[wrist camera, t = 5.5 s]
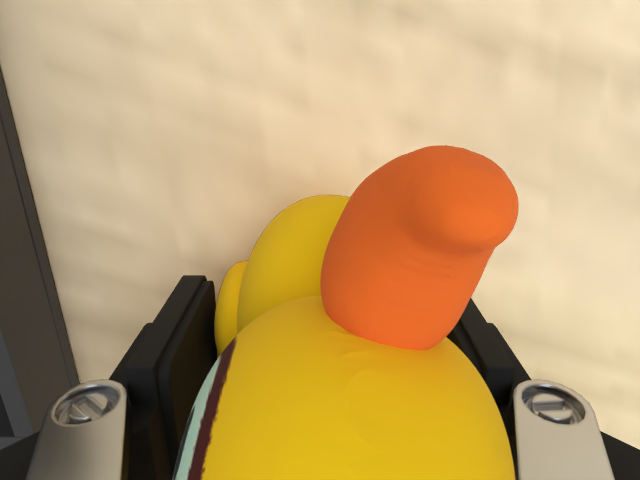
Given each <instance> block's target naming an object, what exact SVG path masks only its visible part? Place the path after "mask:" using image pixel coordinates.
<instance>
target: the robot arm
mask: <svg viewBox="0 0 640 480" xmlns="http://www.w3.org/2000/svg"><path fill="white" fill-rule="evenodd" d="M215 310H216V300H215V290H214V283H213V281H207V279H206V277H205V276H183V277H182V278H181V280H180V281H179V283H178V284H177V286H176V287H175V289H174V290H173V292H172V294H171V295H170V297H169V298H168V300H167V301H166V303H165V304H164V306H163V308H162V309H161V311H160V312H159V314H158V315H157V317H156V318H155V320H154V322H153V323H147V324H146V325H145V326H144V327H143V329H142V330H141V332H140V333H139V335H138V336H137V338H136V339H135V341H134V342H133V344H132V345H131V347H130V348H129V350H128V351H127V353H126V354H125V356H124V357H123V359H122V360H121V362H120V363H119V365H118V366H117V368H116V369H115V371H114V372H113V374H112V375H111V377H110V378H109V380H94V381H89V382H85V383H82V384H79V385H76V386H74V387H72V388H70V389H68V390H66V391H65V392H63V393H62V394H60V395H59V396H57V397H56V398H55V399H54V400H53V401H52V402H51V403H50V405H49V407H48V409H47V411H46V413H45V416H44V419H43V423H42V426H41V429H40V431H39V432H36V433H34V434H32V435H30V436H28V437H26V438H24V439H22V440H20V441H18V442H16V443H13V444H11V445H9V446H7V447H5V448H3V449H1V450H0V480H173V475H174V470H175V465H176V461H177V457H178V453H179V449H180V445H181V441H182V438H183V435H184V431H185V428H186V425H187V422H188V419H189V416H190V413H191V410H192V408H193V405H194V403H195V400H196V398H197V396H198V393H199V391H200V389H201V387H202V385H203V383H204V381H205V379H206V377H207V375H208V374H209V372H210V370H211V368H212V367H213V365H214V364H215V362H216V361H217V347H216V343H215V335H214V320H215ZM446 337H447V338H448V339H449V340H450V341H452V342H453V343H454V344H455V345H456V346H457V347H458V348H459V349H460V350H461V351H462V352H463V353H464V354H465V355H466V356H467V358H468V359H469V360H470V361H471V362H472V364H473V365H474V366H475V368H476V369H477V371H478V372H479V374H480V375H481V377H482V378H483V380H484V381H485V383H486V385H487V387H488V388H489V390H490V392H491V394H492V396H493V398H494V400H495V403H496V405H497V407H498V410H499V412H500V415H501V417H502V420H503V423H504V426H505V429H506V433H507V436H508V440H509V444H510V448H511V453H512V458H513V463H514V470H515V478H516V480H640V450H639V449H637V448H635V447H633V446H630V445H628V444H626V443H624V442H622V441H620V440H618V439H616V438H614V437H612V436H610V435H608V434H605V433H603V432H601V431H600V429H599V426H598V423H597V419H596V416H595V413H594V411H593V409H592V407H591V405H590V403H589V402H588V401H587V400H586V399H585V398H584V397H583V396H581V395H580V394H578V393H577V392H575V391H574V390H572V389H570V388H568V387H566V386H564V385H561V384H558V383H555V382H551V381H546V380H531V379H530V377H529V376H528V374H527V373H526V371H525V370H524V368H523V367H522V365H521V364H520V362H519V361H518V359H517V358H516V356H515V355H514V353H513V352H512V350H511V349H510V347H509V346H508V344H507V343H506V341H505V340H504V338H503V337H502V335H501V334H500V332H499V331H498V329H497V328H496V326H495V325H494V324H493V323H487V322H486V320H485V319H484V317H483V316H482V314H481V313H480V311H479V310H478V308H477V306H476V305H475V303H474V302H473V300H472V299H471V298H470V300H469V302H468V304H467V306H466V308H465V310H464V312H463V314H462V315H461V317H460V319H459V321H458V322H457V324H456V325H455V327H454V328H453V329H452V331H451V332H450V333H449V334H448V335H447V336H446Z"/></svg>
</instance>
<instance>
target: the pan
mask: <svg viewBox="0 0 640 480" xmlns="http://www.w3.org/2000/svg"><path fill="white" fill-rule="evenodd" d="M76 385H79V381H78V377H77V373H76V369H75V365H74V361H73V357H72V353H71V349H70V345H69V341H68V337H67V333H66V329H65V325H64V321H63V317H62V313H61V309H60V305H59V301H58V297H57V293H56V289H55V285H54V281H53V277H52V273H51V269H50V265H49V261H48V258H47V254H46V250H45V246H44V242H43V238H42V234H41V230H40V226H39V222H38V218H37V214H36V210H35V206H34V202H33V198H32V194H31V190H30V186H29V182H28V178H27V174H26V170H25V166H24V162H23V158H22V154H21V150H20V146H19V142H18V138H17V134H16V130H15V126H14V122H13V118H12V114H11V110H10V106H9V102H8V98H7V94H6V90H5V86H4V82H3V78H2V74H1V70H0V450H1V449H3V448H5V447H7V446H9V445H11V444H13V443H16V442H18V441H20V440H22V439H24V438H26V437H28V436H30V435H32V434H34V433H36V432H39V431H40V429H41V426H42V423H43V419H44V416H45V413H46V411H47V409H48V407H49V405H50V403H51V402H52V401H53V400H54V399H55V398H56V397H57V396H59V395H60V394H62V393H63V392H65V391H66V390H68V389H70V388H72V387H74V386H76Z"/></svg>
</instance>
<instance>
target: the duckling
mask: <svg viewBox="0 0 640 480" xmlns="http://www.w3.org/2000/svg"><path fill="white" fill-rule="evenodd" d="M517 215H518V197H517V194H516V191H515V188H514V186H513V185H512V183H511V181H510V179H509V178H508V176H507V175H506V173H505V172H504V171H503V170H502V169H501V168H500V167H499V166H498V165H497V164H496V163H494V162H493V161H491V160H490V159H488V158H486V157H485V156H483V155H480V154H477V153H475V152H472V151H469V150H466V149H464V148H458V147H452V146H429V147H425V148H422V149H419V150H416V151H414V152H411V153H408V154H405V155H402V156H400V157H397V158H395V159H393V160H392V161H390V162H388V163H387V164H385V165H384V166H382V167H381V168H379V169H378V170H376V171H375V172H374V173H372V174H371V175H370V176H368V177H367V178H366V179H365V180H364V181H363V182H362V183H361V184H360V185H359V186H358V188H357V189H356V190H355V192H354V193H353V194H352V196H351V197H346V196H339V195H318V196H313V197H308V198H305V199H302V200H300V201H298V202H296V203H294V204H292V205H290V206H289V207H287V208H286V209H284V210H283V211H282V212H281V213H280V214H278V215H277V216H276V217H275V218H274V219H273V220H272V221H271V223H270V224H269V225H268V226H267V227H266V229H265V230H264V231H263V233H262V234H261V236H260V238H259V239H258V241H257V243H256V245H255V247H254V249H253V251H252V253H251V255H250V257H249V260H248V261H242V262H238V263H236V264H235V265H233V266H232V267H231V268H230V270H229V271H228V273H227V274H226V276H225V278H224V280H223V283H222V285H221V288H220V291H219V295H218V299H217V304H216V310H215V320H214V335H215V343H216V347H217V361H216V362H215V364H214V365H213V367H212V368H211V370H210V372H209V374H208V375H207V377H206V379H205V381H204V383H203V385H202V387H201V389H200V391H199V393H198V396H197V398H196V400H195V403H194V405H193V408H192V410H191V413H190V416H189V419H188V422H187V425H186V428H185V431H184V435H183V438H182V441H181V445H180V449H179V453H178V457H177V461H176V465H175V470H174V475H173V480H516V478H515V470H514V463H513V458H512V453H511V448H510V444H509V440H508V436H507V433H506V429H505V426H504V423H503V420H502V417H501V415H500V412H499V410H498V407H497V405H496V403H495V400H494V398H493V396H492V394H491V392H490V390H489V388H488V387H487V385H486V383H485V381H484V380H483V378H482V377H481V375H480V374H479V372H478V371H477V369H476V368H475V366H474V365H473V364H472V362H471V361H470V360H469V359H468V358H467V356H466V355H465V354H464V353H463V352H462V351H461V350H460V349H459V348H458V347H457V346H456V345H455V344H454V343H453V342H452V341H450V340H449V339H448V338H447V337H446V336H447V335H448V334H449V333H450V332H451V331H452V329H453V328H454V327H455V325H456V324H457V322H458V321H459V319H460V317H461V315H462V314H463V312H464V310H465V308H466V306H467V304H468V302H469V300H470V298H471V296H472V294H473V292H474V290H475V288H476V286H477V284H478V282H479V280H480V278H481V276H482V274H483V271H484V269H485V267H486V264H487V262H488V260H489V258H490V256H491V254H492V252H493V250H494V249H495V247H496V246H498V245H499V244H500V243H502V242H503V241H504V240H505V239H506V238H507V237H508V236H509V234H510V233H511V231H512V229H513V227H514V225H515V223H516V220H517Z"/></svg>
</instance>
